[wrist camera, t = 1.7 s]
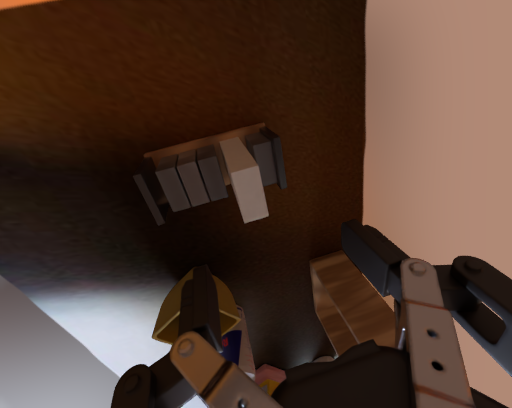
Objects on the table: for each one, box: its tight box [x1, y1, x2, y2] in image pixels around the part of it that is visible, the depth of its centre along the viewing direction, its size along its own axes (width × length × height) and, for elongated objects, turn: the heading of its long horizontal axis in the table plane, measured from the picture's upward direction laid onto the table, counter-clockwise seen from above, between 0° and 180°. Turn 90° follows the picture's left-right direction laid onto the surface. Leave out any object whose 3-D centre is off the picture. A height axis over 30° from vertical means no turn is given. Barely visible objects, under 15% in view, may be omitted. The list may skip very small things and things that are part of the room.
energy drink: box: [220, 305, 256, 381], centre depth 40 cm, size 5×5×12 cm
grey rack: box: [133, 123, 287, 225], centre depth 27 cm, size 15×7×7 cm, turn 102°
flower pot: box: [152, 266, 241, 345], centre depth 35 cm, size 9×9×9 cm
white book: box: [219, 137, 269, 223], centre depth 25 cm, size 2×5×11 cm, turn 12°
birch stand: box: [309, 250, 395, 357], centre depth 38 cm, size 16×7×22 cm, turn 12°
